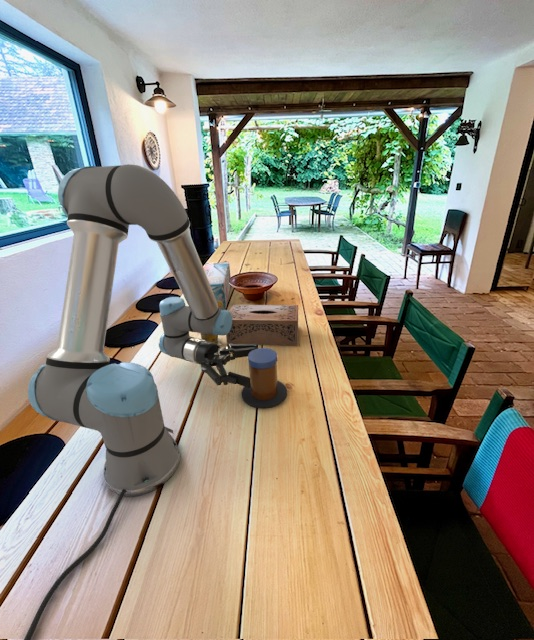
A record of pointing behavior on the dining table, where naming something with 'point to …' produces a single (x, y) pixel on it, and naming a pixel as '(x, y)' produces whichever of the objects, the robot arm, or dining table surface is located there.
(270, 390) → the jar
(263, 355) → the lid
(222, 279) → the soda box
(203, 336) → the condiment
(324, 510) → the dining table surface
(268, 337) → the tissue box cover
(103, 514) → the dining table surface
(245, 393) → the coaster
